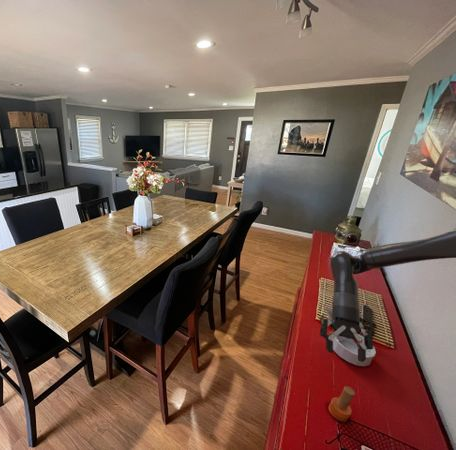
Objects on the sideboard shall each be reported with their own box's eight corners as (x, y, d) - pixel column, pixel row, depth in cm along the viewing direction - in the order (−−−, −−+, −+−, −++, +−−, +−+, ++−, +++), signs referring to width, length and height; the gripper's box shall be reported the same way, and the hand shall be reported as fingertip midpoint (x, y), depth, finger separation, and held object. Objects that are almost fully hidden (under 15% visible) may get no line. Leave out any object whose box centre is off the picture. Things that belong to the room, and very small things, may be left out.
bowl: (378, 363, 94) (384, 353, 92) (352, 370, 91) (358, 360, 89) (346, 336, 106) (351, 327, 104) (323, 342, 103) (326, 332, 101)
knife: (362, 304, 126) (363, 302, 126) (378, 310, 122) (379, 308, 121) (354, 330, 110) (356, 328, 109) (373, 338, 105) (374, 336, 105)
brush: (352, 419, 76) (364, 397, 71) (339, 423, 74) (351, 401, 70) (336, 402, 80) (348, 380, 76) (324, 406, 79) (335, 384, 75)
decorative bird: (362, 338, 105) (368, 326, 102) (319, 323, 113) (324, 310, 110) (360, 330, 109) (366, 318, 106) (319, 316, 117) (324, 304, 114)
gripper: (326, 300, 83) (324, 350, 78) (376, 312, 79) (378, 366, 73) (318, 303, 90) (316, 349, 84) (364, 313, 85) (365, 363, 80)
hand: (345, 356), depth 79 cm, fingers open, 8 cm apart
